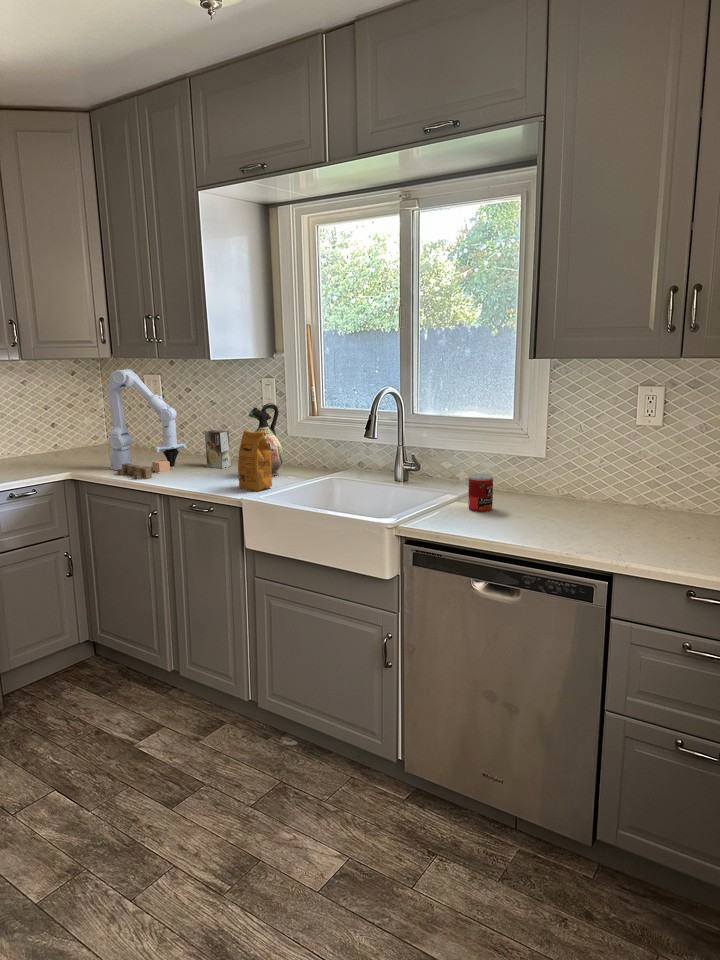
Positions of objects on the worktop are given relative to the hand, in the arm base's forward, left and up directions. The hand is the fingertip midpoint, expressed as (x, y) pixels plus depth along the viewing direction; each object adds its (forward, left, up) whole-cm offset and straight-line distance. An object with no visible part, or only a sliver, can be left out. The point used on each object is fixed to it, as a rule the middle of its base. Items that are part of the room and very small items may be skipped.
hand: (171, 466), depth 302 cm
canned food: (+144, +25, -2) cm, 146 cm away
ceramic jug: (+44, +18, -2) cm, 48 cm away
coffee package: (+60, -1, -2) cm, 60 cm away
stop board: (0, -18, -1) cm, 19 cm away
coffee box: (+11, +17, -2) cm, 20 cm away
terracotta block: (0, -5, -2) cm, 6 cm away
